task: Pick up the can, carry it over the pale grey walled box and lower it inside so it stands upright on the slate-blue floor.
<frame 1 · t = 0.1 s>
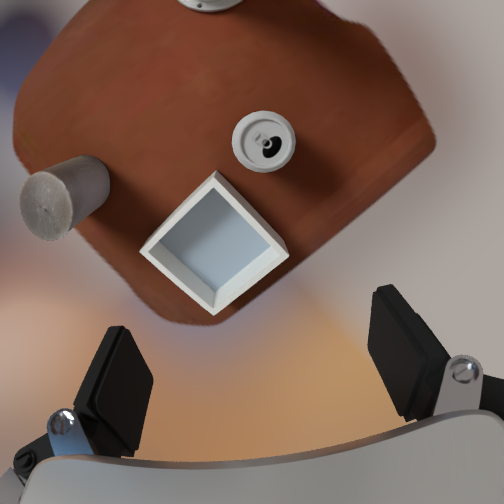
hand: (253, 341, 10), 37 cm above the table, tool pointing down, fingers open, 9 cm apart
walled box: (215, 238, 49), on the table
can: (257, 137, 42), on the table
pillar candle: (88, 182, 43), on the table
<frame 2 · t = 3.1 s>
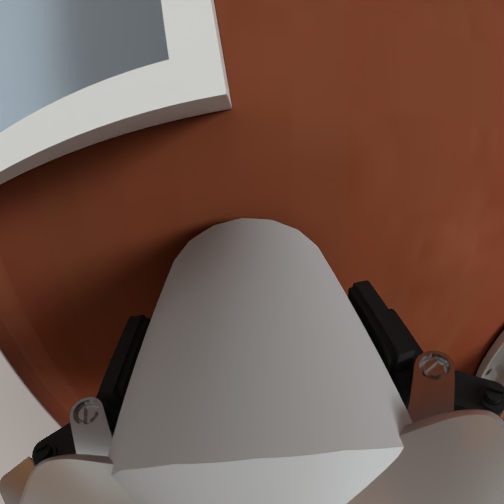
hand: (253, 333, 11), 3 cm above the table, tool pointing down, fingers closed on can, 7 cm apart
walled box: (45, 12, 7), on the table
can: (249, 285, 14), on the table, touching gripper
when the fingers open (5 cm above the table, at t = 9.9 s): can drops 1 cm, resting on walled box.
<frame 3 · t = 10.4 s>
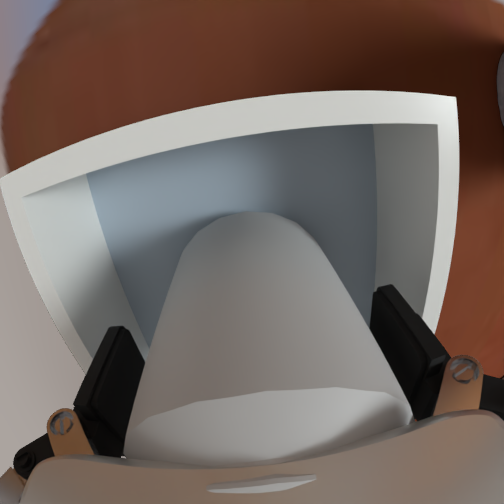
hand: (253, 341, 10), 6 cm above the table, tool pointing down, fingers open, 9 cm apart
walled box: (247, 266, 16), on the table
can: (251, 274, 15), point 1 cm above the table, touching walled box
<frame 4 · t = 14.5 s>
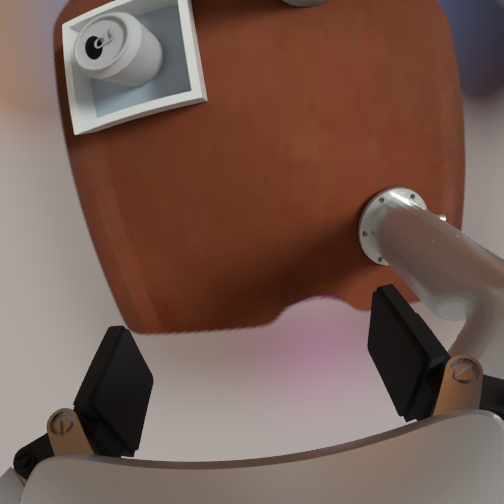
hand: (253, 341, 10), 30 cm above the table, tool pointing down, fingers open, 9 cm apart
walled box: (139, 61, 30), on the table
can: (138, 61, 30), point 1 cm above the table, touching walled box
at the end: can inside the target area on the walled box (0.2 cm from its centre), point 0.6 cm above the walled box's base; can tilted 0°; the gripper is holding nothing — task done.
